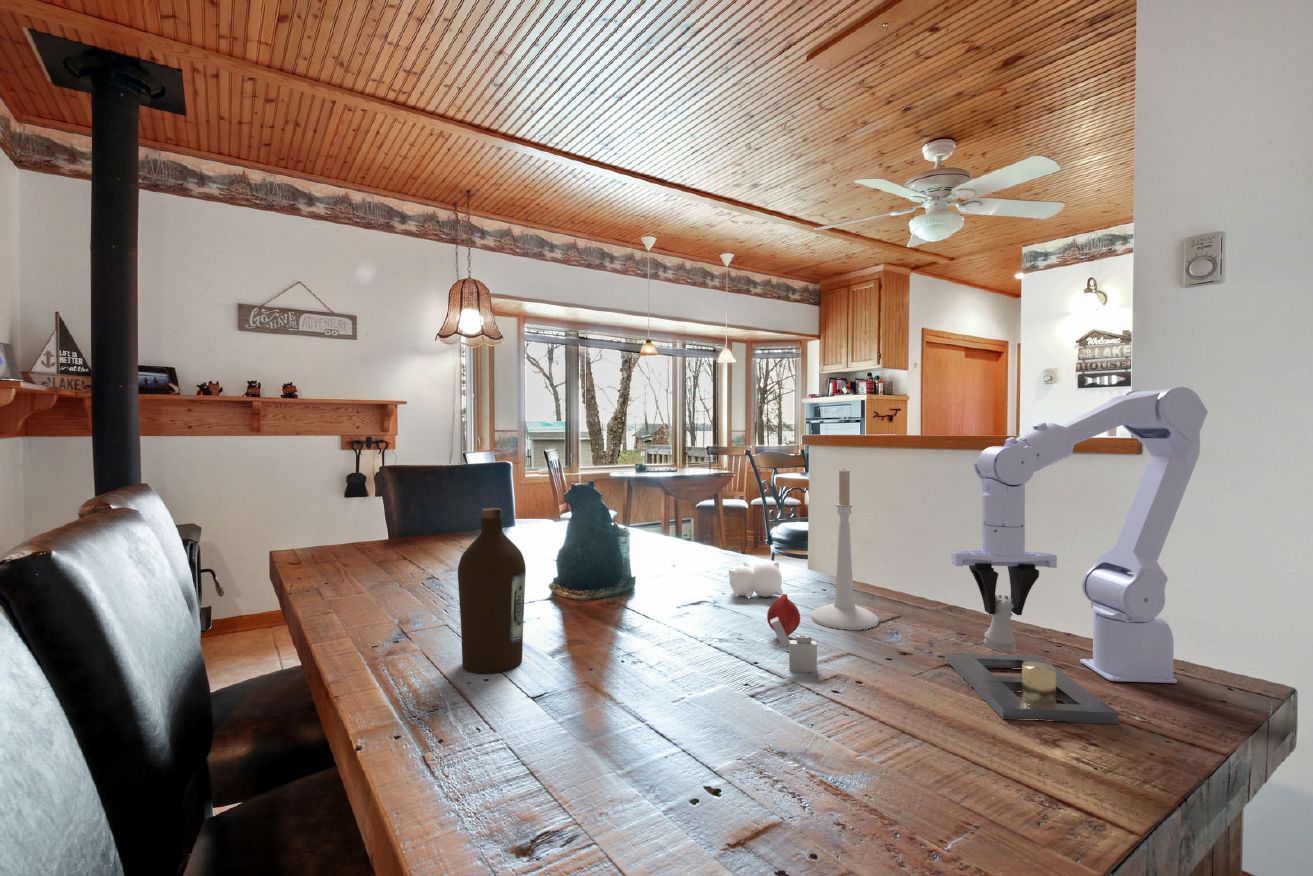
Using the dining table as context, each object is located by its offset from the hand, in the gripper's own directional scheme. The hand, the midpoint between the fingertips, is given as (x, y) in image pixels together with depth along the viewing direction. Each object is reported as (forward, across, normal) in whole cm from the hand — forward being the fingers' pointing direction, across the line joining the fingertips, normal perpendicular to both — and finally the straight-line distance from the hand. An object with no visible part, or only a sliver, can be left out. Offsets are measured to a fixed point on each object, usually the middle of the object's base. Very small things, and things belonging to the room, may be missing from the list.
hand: (1003, 613), depth 96 cm
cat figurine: (+10, +36, -43) cm, 57 cm away
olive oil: (+10, +80, +4) cm, 80 cm away
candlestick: (+10, +19, -26) cm, 34 cm away
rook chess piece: (+6, 0, -1) cm, 6 cm away
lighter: (+10, +32, +1) cm, 33 cm away
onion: (+10, +32, -14) cm, 36 cm away
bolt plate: (+9, 0, +6) cm, 11 cm away
